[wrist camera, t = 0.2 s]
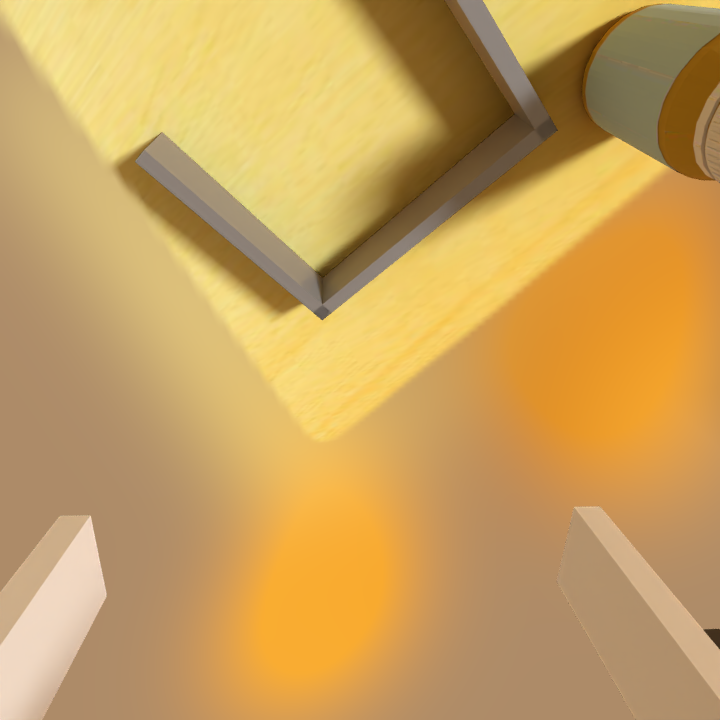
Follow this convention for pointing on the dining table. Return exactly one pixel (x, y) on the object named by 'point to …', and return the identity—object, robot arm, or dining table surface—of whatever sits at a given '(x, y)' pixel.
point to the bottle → (661, 86)
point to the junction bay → (407, 225)
